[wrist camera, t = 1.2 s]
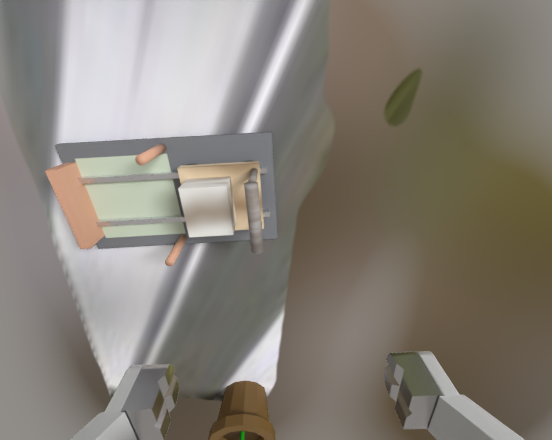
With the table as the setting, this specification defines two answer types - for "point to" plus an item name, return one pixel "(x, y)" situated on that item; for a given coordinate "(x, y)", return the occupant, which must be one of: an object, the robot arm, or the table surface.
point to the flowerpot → (243, 414)
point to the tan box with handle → (223, 200)
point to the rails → (136, 178)
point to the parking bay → (118, 198)
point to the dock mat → (185, 153)
